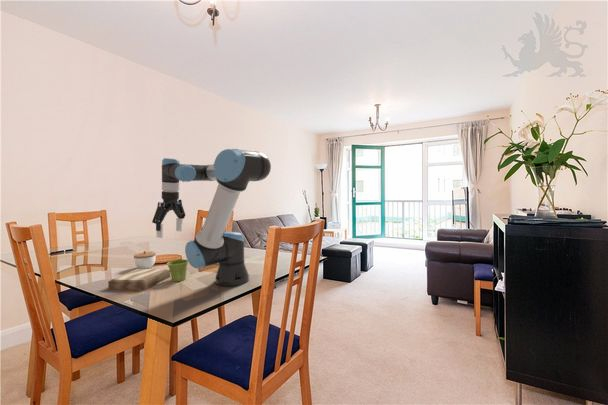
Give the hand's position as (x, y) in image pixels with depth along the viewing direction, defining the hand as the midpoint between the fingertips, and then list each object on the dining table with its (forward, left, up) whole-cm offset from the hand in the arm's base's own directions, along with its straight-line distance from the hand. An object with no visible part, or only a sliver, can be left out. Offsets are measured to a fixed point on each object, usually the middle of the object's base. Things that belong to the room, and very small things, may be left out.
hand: (169, 234), depth 139 cm
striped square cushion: (+11, +8, -22) cm, 25 cm away
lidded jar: (+26, -15, -22) cm, 37 cm away
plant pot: (-5, +3, -22) cm, 23 cm away
